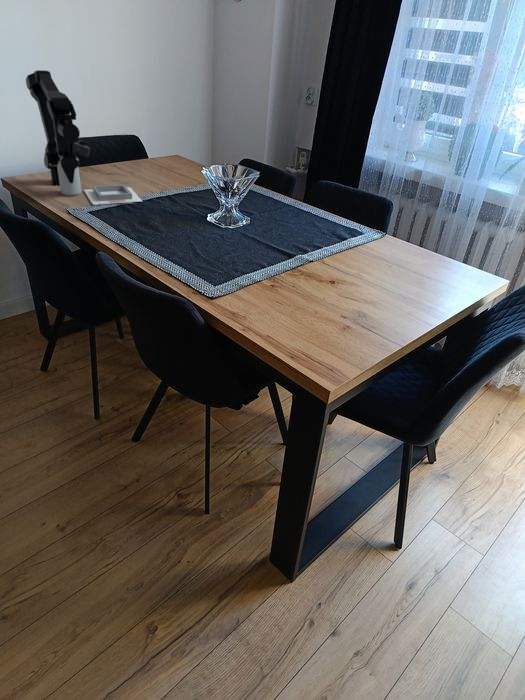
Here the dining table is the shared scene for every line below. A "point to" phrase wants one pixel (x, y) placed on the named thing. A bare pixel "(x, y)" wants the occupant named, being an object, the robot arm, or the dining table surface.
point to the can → (65, 185)
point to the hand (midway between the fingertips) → (69, 179)
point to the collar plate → (111, 194)
